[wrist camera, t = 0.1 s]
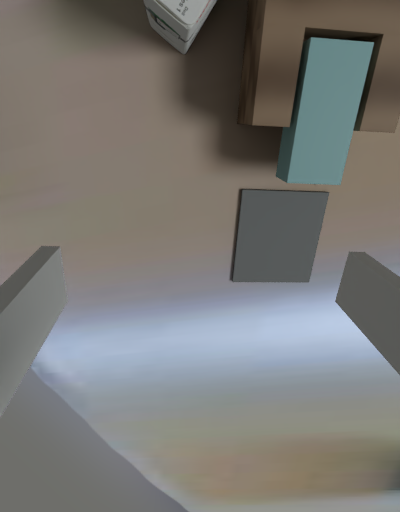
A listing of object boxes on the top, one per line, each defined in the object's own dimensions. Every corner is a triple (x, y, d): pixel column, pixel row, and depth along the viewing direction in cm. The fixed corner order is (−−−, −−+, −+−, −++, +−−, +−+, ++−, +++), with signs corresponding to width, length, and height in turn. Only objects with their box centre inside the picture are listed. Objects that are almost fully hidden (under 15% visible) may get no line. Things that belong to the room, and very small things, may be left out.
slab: (295, 46, 31) (311, 37, 27) (351, 51, 32) (374, 42, 28) (275, 176, 36) (287, 182, 33) (323, 178, 37) (340, 184, 33)
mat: (242, 189, 41) (242, 189, 40) (327, 192, 42) (329, 192, 41) (232, 280, 47) (232, 281, 46) (307, 281, 48) (308, 282, 47)
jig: (253, -49, 31) (277, -101, 23) (392, -35, 32) (455, -79, 25) (237, 123, 37) (252, 125, 30) (353, 129, 39) (394, 132, 31)
